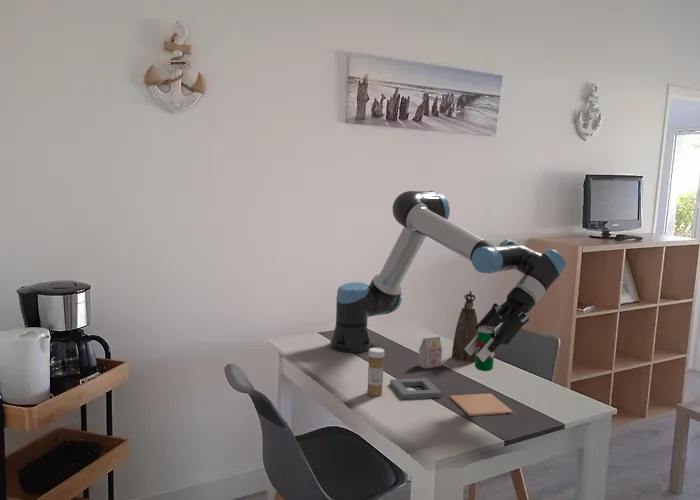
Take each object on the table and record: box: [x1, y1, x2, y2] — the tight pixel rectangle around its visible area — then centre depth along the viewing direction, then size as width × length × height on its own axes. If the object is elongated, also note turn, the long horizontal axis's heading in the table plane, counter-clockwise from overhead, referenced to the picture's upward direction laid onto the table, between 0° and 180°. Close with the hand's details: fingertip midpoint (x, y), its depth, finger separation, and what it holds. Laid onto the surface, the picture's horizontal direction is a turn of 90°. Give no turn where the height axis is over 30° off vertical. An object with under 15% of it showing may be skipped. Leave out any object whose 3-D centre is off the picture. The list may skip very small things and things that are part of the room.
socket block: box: [389, 377, 443, 400], centre depth 172 cm, size 12×12×2 cm
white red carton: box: [418, 336, 443, 370], centre depth 195 cm, size 4×7×10 cm, turn 118°
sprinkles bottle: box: [366, 347, 385, 397], centre depth 167 cm, size 5×5×13 cm
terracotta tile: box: [449, 393, 514, 417], centre depth 163 cm, size 13×13×1 cm
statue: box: [451, 290, 479, 362], centre depth 204 cm, size 9×8×25 cm
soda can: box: [474, 326, 497, 372], centre depth 161 cm, size 5×5×12 cm
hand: (473, 355), depth 160 cm, fingers closed on soda can, 5 cm apart
